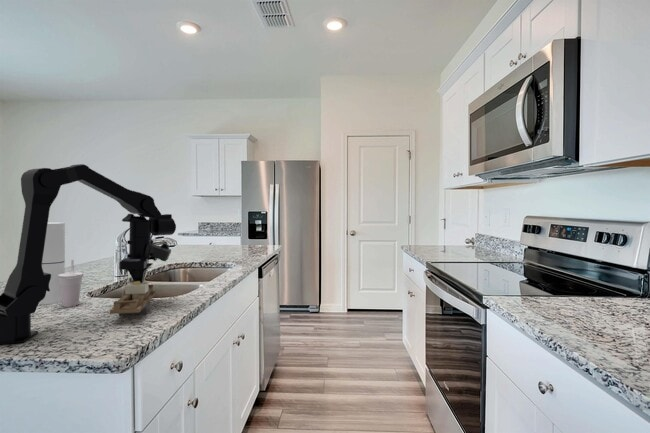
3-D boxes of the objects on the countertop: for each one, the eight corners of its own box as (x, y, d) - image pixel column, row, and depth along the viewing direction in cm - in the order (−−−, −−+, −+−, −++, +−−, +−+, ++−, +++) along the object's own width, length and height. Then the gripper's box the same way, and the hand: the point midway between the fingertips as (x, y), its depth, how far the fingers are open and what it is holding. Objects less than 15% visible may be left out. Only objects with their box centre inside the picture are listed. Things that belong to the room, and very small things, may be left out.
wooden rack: (139, 323, 91) (139, 301, 91) (109, 325, 89) (109, 302, 89) (156, 303, 110) (156, 284, 110) (131, 304, 109) (132, 285, 108)
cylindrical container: (31, 305, 106) (31, 223, 105) (43, 298, 112) (43, 222, 112) (58, 303, 107) (58, 223, 107) (68, 297, 114) (68, 222, 114)
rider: (145, 299, 100) (145, 282, 100) (125, 299, 99) (125, 283, 99) (148, 295, 104) (148, 279, 104) (129, 296, 103) (129, 280, 103)
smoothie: (69, 309, 102) (69, 262, 102) (52, 307, 104) (52, 261, 103) (88, 303, 109) (88, 259, 108) (71, 301, 110) (71, 258, 110)
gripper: (163, 239, 97) (162, 294, 98) (174, 234, 115) (173, 280, 116) (119, 239, 94) (118, 296, 95) (137, 234, 112) (136, 281, 113)
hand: (139, 288), depth 104 cm, fingers closed
